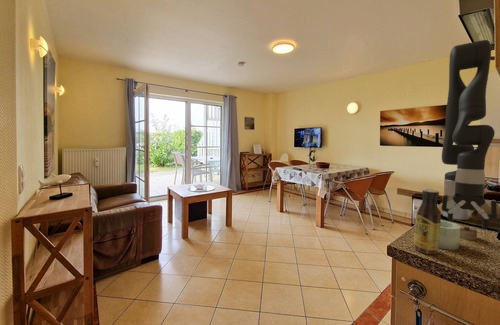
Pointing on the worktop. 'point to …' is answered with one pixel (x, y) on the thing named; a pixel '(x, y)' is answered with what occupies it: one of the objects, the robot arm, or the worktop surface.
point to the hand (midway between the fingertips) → (466, 225)
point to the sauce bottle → (428, 223)
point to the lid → (468, 233)
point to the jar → (449, 235)
